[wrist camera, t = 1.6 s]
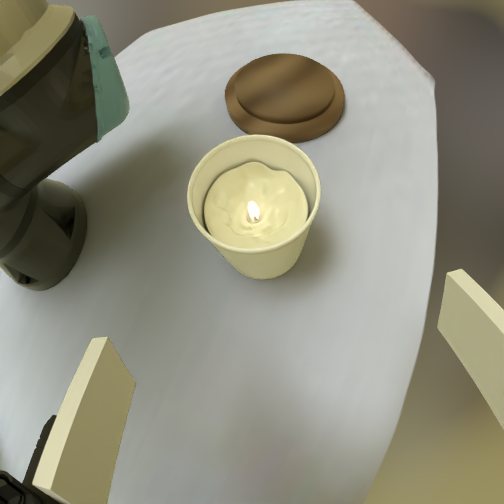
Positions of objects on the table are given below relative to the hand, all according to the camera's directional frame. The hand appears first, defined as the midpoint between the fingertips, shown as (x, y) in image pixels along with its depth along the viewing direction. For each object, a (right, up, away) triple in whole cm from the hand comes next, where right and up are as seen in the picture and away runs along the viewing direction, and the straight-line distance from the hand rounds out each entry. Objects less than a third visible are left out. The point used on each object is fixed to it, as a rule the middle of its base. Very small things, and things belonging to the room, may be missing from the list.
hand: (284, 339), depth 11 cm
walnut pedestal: (+3, +24, +29) cm, 38 cm away
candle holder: (0, +4, +23) cm, 23 cm away
